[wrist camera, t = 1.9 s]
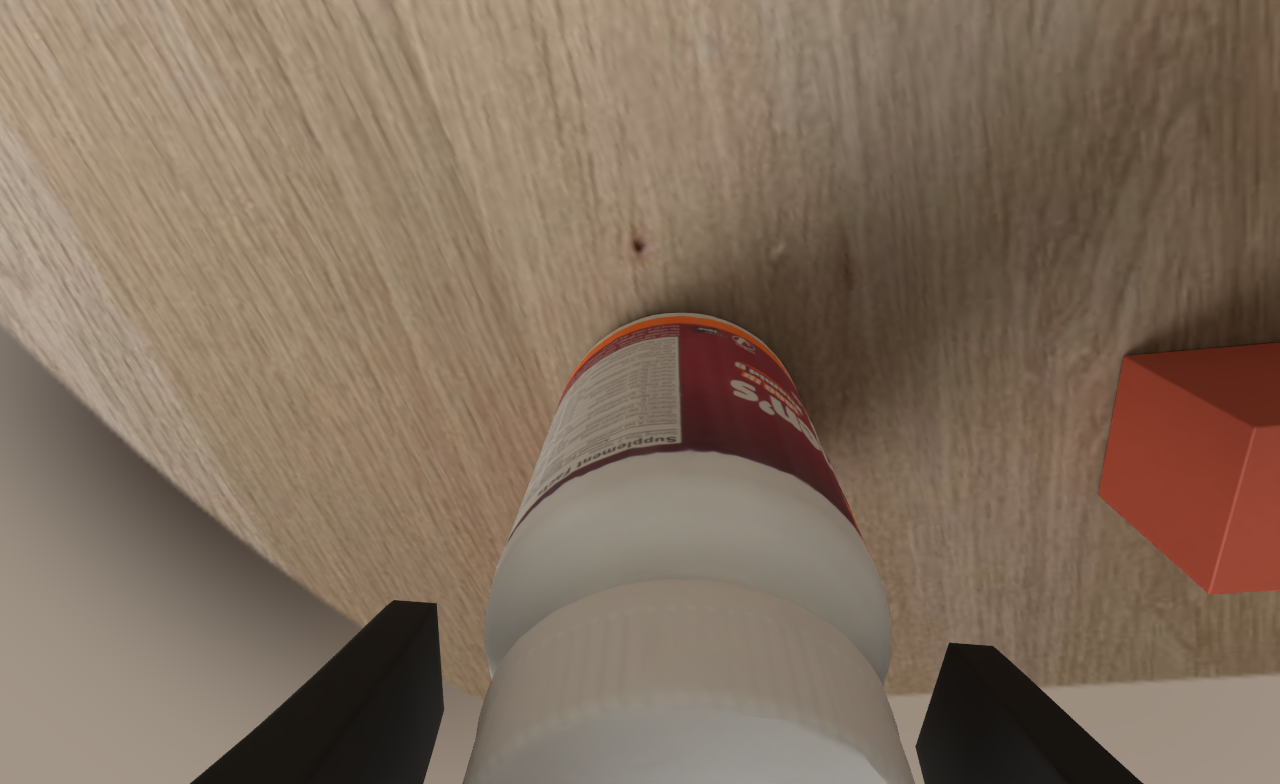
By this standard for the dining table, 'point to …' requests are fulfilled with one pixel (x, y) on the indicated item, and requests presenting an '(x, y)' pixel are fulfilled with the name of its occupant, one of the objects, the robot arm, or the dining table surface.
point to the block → (1201, 461)
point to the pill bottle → (685, 584)
